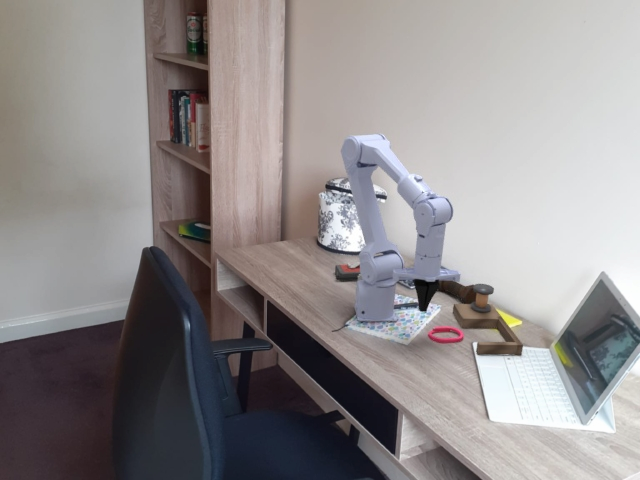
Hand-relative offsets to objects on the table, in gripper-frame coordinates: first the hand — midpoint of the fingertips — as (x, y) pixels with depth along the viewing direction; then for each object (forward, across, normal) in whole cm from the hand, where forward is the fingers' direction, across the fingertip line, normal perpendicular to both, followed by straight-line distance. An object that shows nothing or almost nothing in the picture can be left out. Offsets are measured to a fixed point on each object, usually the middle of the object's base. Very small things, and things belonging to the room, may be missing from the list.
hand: (422, 309), depth 132 cm
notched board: (+7, +16, +3) cm, 18 cm away
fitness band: (+8, +6, +1) cm, 10 cm away
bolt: (+8, +14, +25) cm, 30 cm away
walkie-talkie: (+8, -7, +36) cm, 37 cm away
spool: (+5, +18, +11) cm, 21 cm away
